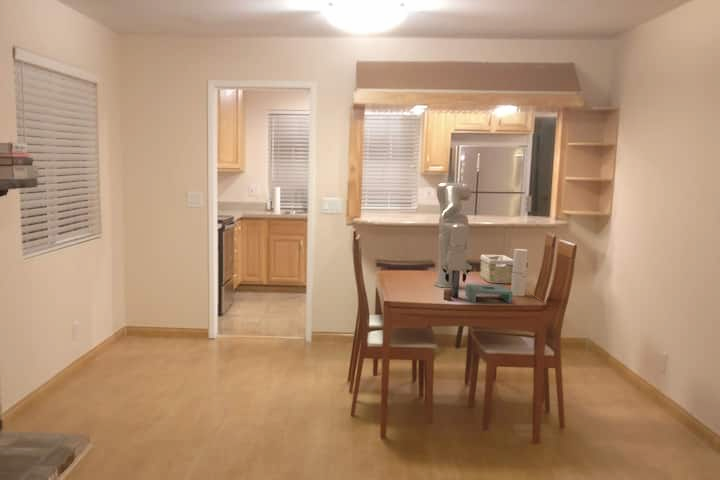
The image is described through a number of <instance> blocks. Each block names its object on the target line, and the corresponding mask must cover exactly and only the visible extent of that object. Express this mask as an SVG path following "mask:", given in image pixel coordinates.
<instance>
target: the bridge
mask: <svg viewBox="0 0 720 480" xmlns="http://www.w3.org/2000/svg"><path fill="white" fill-rule="evenodd" d="M479 294H480V295H499V297H500V298H501V299H502V300H503V301H505V302H507V304H512V302H513V301H512V299H513V295H512V291H511V290H510V289H509V288H508V287H506V286H505V285H498V284H470V283H469V284H466V285H465V296H466V297H467V298H468V300H469V301H471V302H472V303H476V302H477V301H476V300H477V295H479Z"/></svg>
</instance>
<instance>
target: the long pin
mask: <svg viewBox="0 0 720 480" xmlns="http://www.w3.org/2000/svg"><path fill="white" fill-rule="evenodd" d="M460 275H461V270H453V271H452V283H451V288H450V290H452V296H451V299H458V298H459V296H460V295H459V292H460V291H459V290H460Z"/></svg>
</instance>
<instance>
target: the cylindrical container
mask: <svg viewBox="0 0 720 480" xmlns="http://www.w3.org/2000/svg"><path fill="white" fill-rule="evenodd" d="M528 251H529V250H528V249H524V248H514V249H513V257H512V259H513V272H512V282H511V287H510V289H511V290H510V291H512V297H513V296H515V297H525V291H526V281H527V280H526V279H527V277H526V275H527V266H528V263H527V262H528Z"/></svg>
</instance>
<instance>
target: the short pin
mask: <svg viewBox="0 0 720 480" xmlns="http://www.w3.org/2000/svg"><path fill="white" fill-rule="evenodd" d="M451 296H452V290H451V288H449V289H448V288H446V289H445V288H444V289H443V300H444V301H452V297H451Z"/></svg>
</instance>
